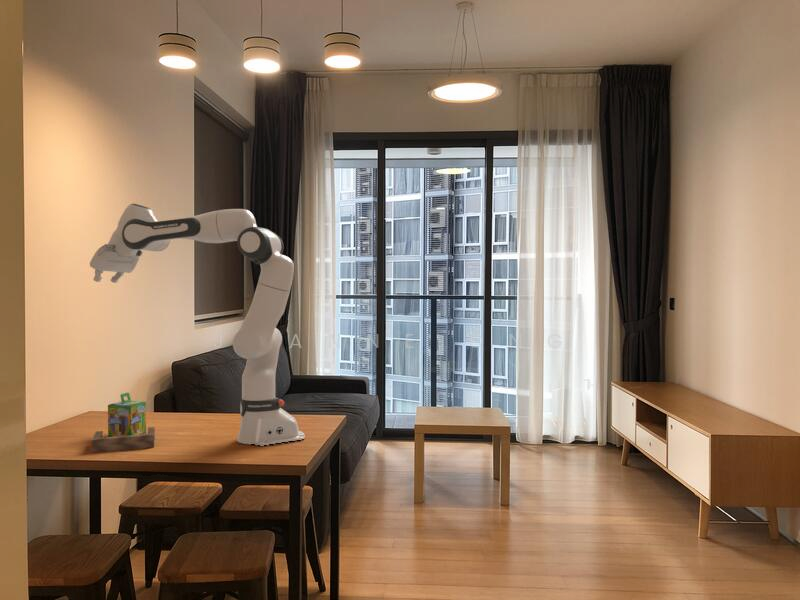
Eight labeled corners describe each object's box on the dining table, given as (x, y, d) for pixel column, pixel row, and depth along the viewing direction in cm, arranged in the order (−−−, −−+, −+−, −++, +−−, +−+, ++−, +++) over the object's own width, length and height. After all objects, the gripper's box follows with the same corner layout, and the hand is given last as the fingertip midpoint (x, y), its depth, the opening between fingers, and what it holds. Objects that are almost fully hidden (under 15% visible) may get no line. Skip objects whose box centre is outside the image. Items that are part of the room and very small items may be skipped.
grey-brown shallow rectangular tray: (154, 438, 203) (154, 427, 203) (154, 447, 192) (153, 434, 192) (96, 443, 197) (95, 431, 196) (91, 452, 185) (91, 439, 185)
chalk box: (130, 439, 202) (130, 396, 202) (106, 438, 204) (106, 395, 204) (147, 433, 211) (147, 391, 211) (124, 432, 213) (124, 390, 213)
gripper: (110, 247, 197) (92, 284, 198) (145, 252, 217) (129, 286, 218) (95, 239, 197) (77, 276, 198) (131, 245, 218) (115, 278, 219)
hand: (105, 281), depth 208 cm, fingers open, 8 cm apart
